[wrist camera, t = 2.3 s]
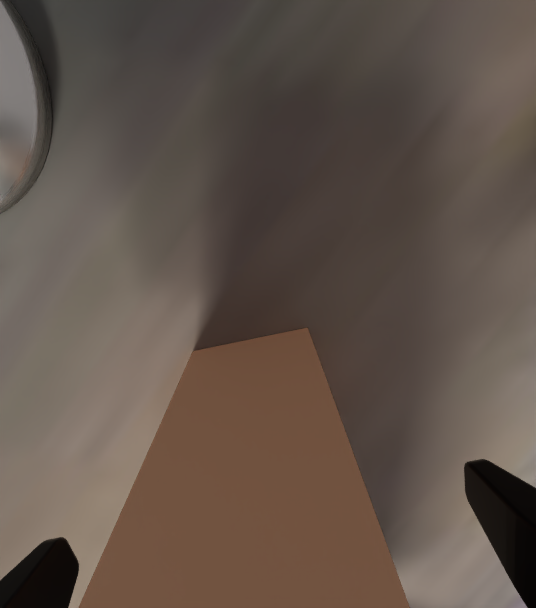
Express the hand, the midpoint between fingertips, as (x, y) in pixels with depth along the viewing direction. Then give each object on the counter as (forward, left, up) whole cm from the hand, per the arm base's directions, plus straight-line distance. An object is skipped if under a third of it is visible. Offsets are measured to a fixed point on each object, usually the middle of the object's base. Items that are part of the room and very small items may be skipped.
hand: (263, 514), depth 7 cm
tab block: (0, 0, -5) cm, 5 cm away
